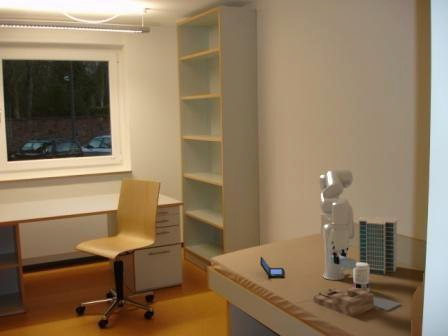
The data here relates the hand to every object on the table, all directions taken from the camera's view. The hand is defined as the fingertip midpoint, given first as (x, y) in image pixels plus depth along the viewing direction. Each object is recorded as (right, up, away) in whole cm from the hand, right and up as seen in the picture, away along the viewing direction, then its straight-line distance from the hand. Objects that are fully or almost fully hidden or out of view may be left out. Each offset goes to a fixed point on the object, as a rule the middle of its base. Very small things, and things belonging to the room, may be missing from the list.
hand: (340, 262), depth 238 cm
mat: (+19, -20, +1) cm, 28 cm away
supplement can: (+15, -19, +17) cm, 30 cm away
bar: (+1, -1, -1) cm, 2 cm away
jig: (+2, -21, 0) cm, 21 cm away
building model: (+35, -14, +51) cm, 63 cm away
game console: (-29, -17, +50) cm, 60 cm away
